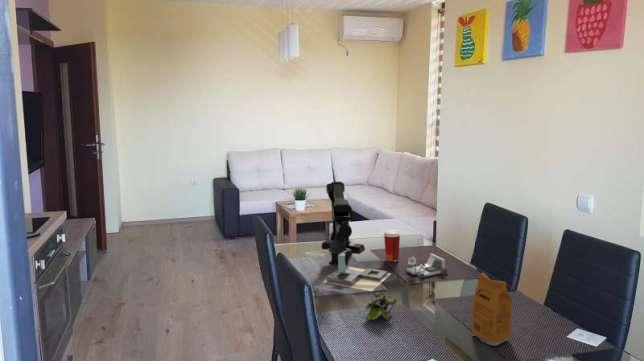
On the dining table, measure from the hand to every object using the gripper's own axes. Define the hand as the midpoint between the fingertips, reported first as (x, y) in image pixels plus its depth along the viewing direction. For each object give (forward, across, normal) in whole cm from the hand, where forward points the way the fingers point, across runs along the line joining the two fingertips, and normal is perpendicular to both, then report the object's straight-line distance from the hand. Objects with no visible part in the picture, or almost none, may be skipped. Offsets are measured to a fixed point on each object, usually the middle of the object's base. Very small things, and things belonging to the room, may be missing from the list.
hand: (343, 265), depth 228 cm
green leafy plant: (+8, +29, -26) cm, 40 cm away
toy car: (+8, +29, +24) cm, 38 cm away
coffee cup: (+8, +10, +33) cm, 35 cm away
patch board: (+8, +5, +4) cm, 10 cm away
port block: (+8, 0, 0) cm, 8 cm away
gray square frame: (+8, +10, +10) cm, 16 cm away
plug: (+2, 0, 0) cm, 2 cm away
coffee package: (+8, +68, -25) cm, 73 cm away
